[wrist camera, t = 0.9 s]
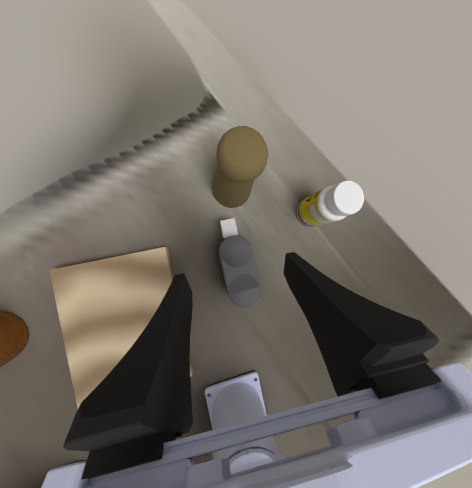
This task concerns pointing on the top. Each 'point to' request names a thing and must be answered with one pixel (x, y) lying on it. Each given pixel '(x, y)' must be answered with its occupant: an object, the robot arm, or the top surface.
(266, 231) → the top surface
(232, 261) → the connector
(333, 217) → the supplement bottle
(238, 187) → the cork
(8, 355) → the disposable coffee cup
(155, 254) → the wooden board
